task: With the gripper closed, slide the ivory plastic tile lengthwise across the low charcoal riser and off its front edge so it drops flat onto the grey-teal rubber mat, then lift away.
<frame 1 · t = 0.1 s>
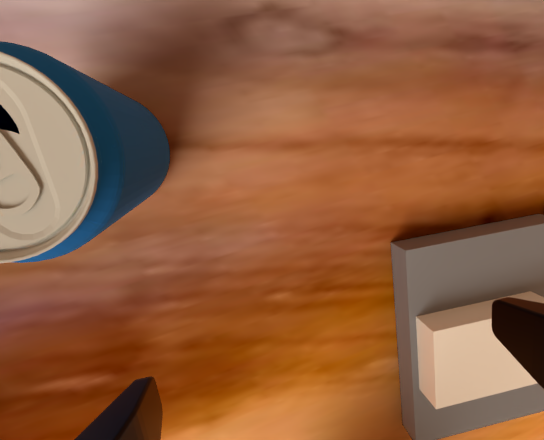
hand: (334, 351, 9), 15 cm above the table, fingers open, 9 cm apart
riser: (467, 323, 27), on the table
beverage can: (117, 151, 21), on the table
tile: (484, 348, 24), point 3 cm above the table, touching riser
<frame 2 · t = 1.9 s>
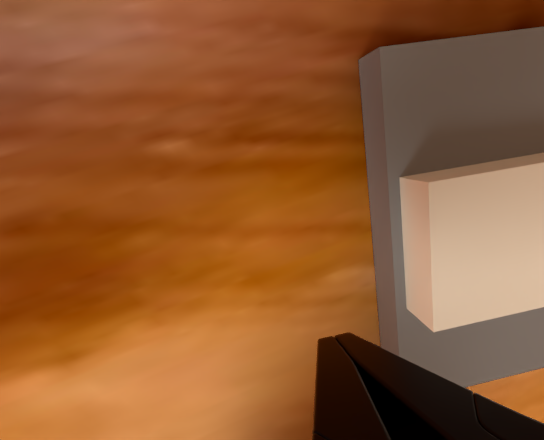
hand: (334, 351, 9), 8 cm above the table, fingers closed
riser: (484, 214, 17), on the table
tile: (516, 233, 14), point 3 cm above the table, touching riser
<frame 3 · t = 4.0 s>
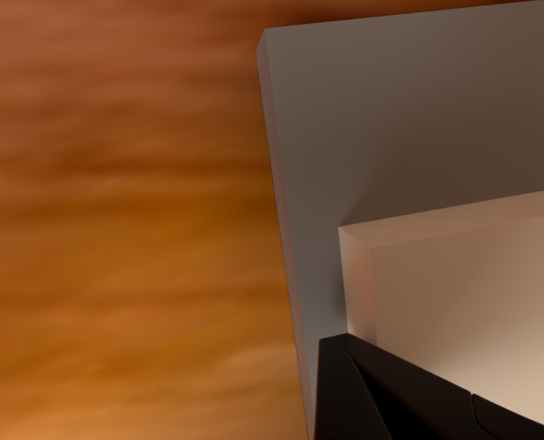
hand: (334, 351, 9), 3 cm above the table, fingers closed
riser: (451, 271, 12), on the table
tile: (516, 311, 9), point 3 cm above the table, touching gripper, riser
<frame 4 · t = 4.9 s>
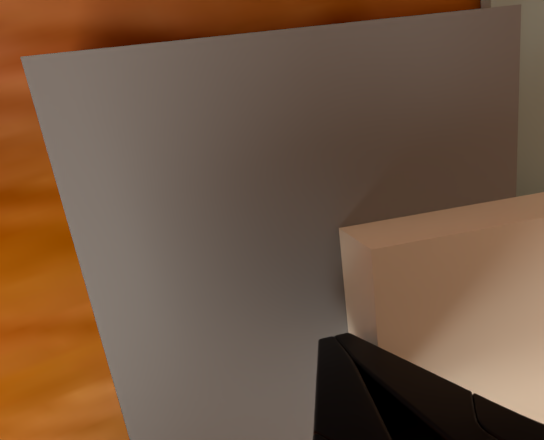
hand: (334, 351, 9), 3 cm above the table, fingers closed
riser: (309, 300, 12), on the table
tile: (515, 312, 9), point 3 cm above the table, touching gripper, riser
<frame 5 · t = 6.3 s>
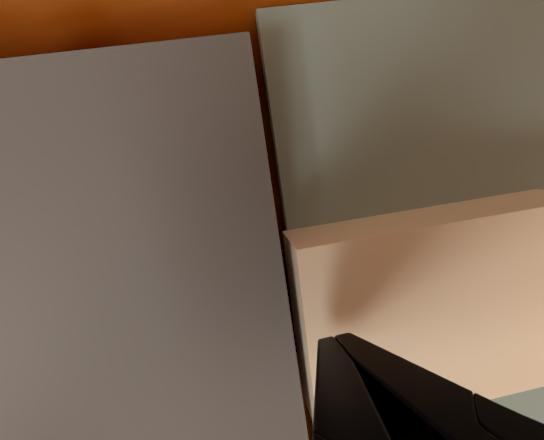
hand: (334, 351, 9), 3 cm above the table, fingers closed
riser: (98, 344, 11), on the table
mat: (468, 267, 12), on the table
tile: (436, 305, 11), point 1 cm above the table, touching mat
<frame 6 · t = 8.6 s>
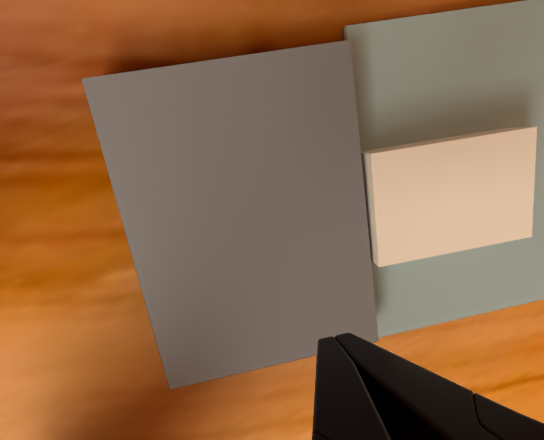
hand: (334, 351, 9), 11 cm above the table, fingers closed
riser: (249, 220, 19), on the table
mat: (464, 179, 20), on the table
tile: (444, 195, 19), point 1 cm above the table, touching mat
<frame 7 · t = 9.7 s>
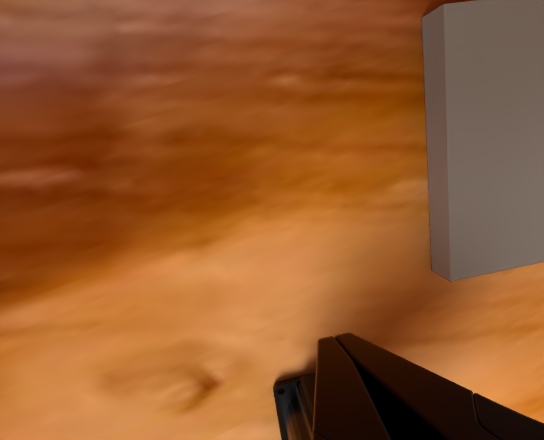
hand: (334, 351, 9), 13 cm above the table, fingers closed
riser: (511, 141, 22), on the table
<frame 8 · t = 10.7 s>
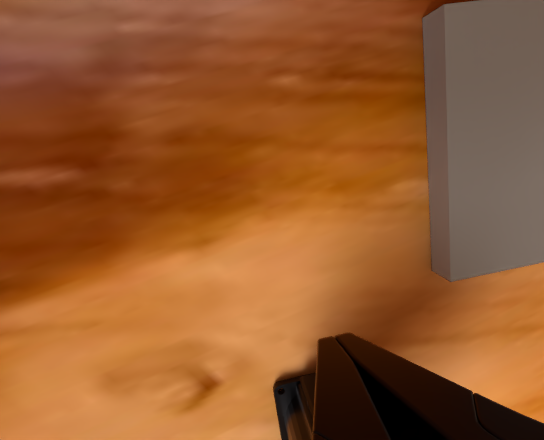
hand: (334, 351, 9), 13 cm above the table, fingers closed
riser: (511, 141, 22), on the table
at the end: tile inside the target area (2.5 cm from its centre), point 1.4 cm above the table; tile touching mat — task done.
